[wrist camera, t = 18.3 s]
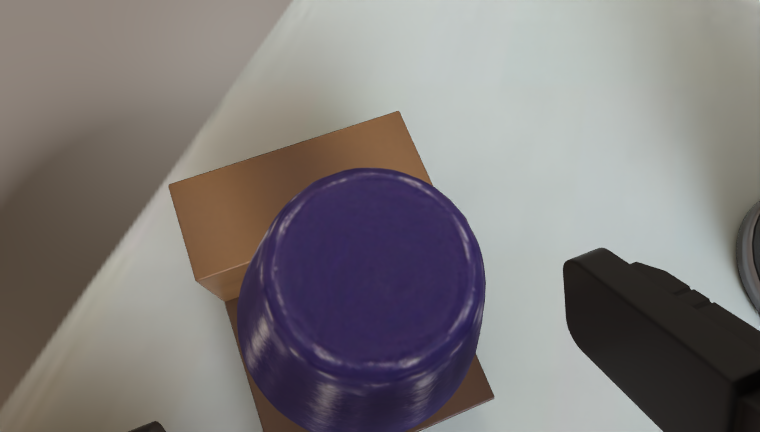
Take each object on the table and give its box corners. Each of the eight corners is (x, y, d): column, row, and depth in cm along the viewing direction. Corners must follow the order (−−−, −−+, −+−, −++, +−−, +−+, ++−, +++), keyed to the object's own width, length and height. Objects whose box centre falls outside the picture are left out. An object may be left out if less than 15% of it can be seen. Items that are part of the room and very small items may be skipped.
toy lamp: (366, 282, 23) (404, 51, 8) (428, 369, 22) (622, 312, 7) (275, 345, 22) (97, 227, 7) (335, 440, 21) (298, 576, 5)
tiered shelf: (386, 180, 28) (399, 109, 21) (478, 397, 25) (530, 399, 18) (215, 239, 27) (167, 184, 20) (289, 479, 23) (263, 517, 16)
